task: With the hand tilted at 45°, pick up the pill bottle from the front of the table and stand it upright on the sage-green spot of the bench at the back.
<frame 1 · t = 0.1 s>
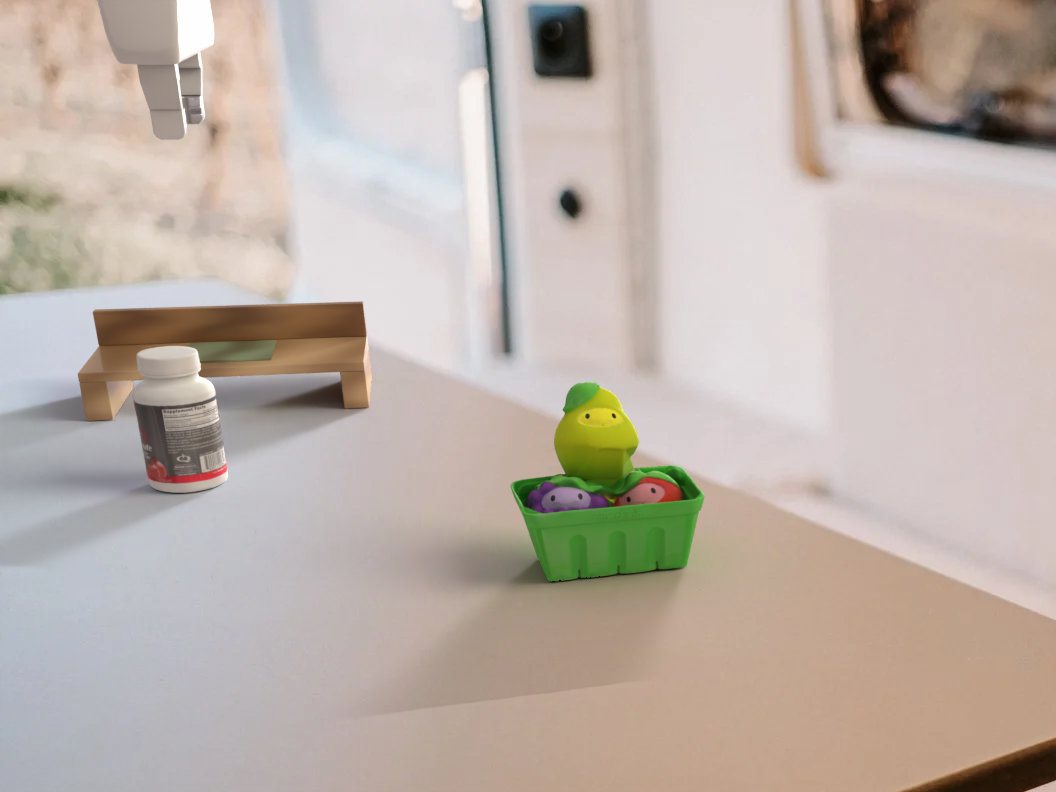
hand: (181, 130, 105), 25 cm above the table, tool pointing down, fingers open, 8 cm apart
bench: (237, 397, 140), on the table
fruit basket: (609, 562, 106), on the table
pill bottle: (189, 486, 118), on the table
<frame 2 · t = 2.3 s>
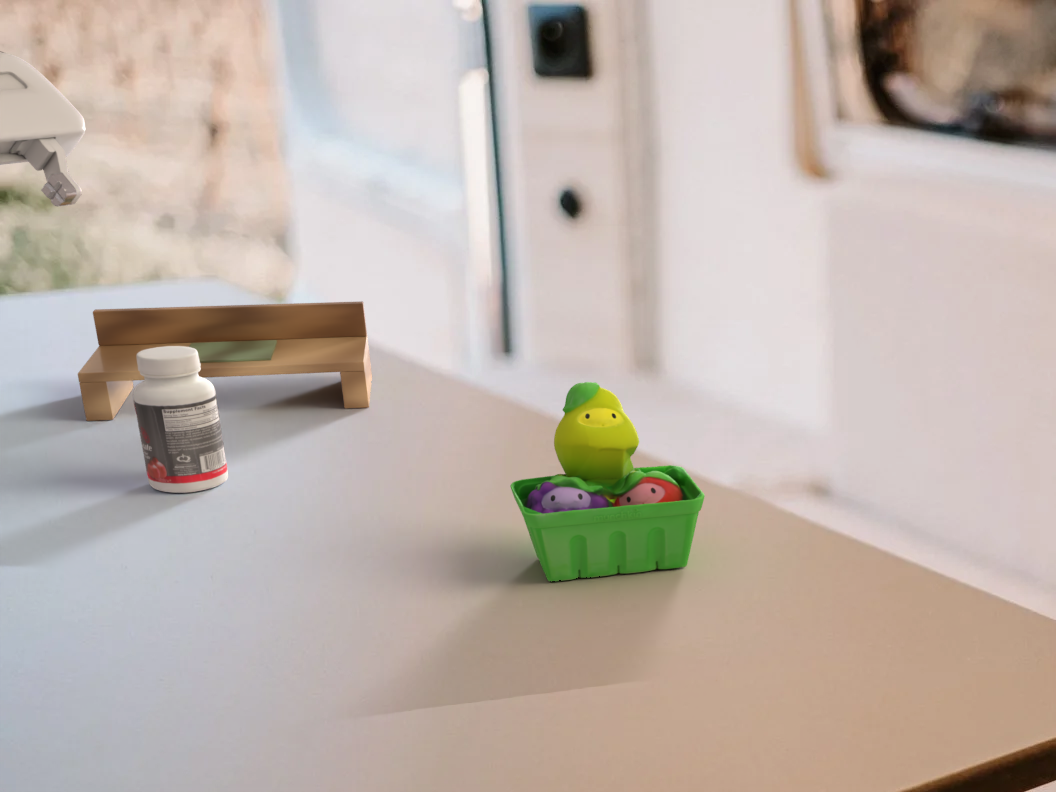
hand: (17, 207, 114), 19 cm above the table, tool tilted 45°, fingers open, 8 cm apart
nothing on the table moved.
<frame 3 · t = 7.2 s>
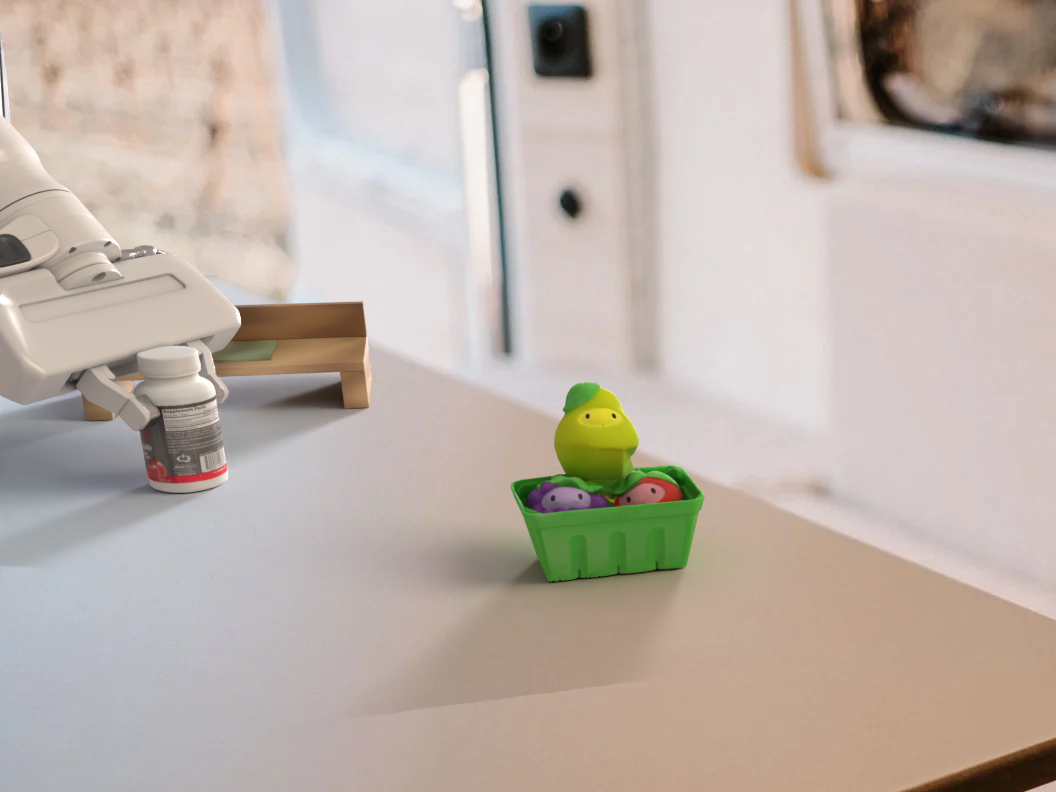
hand: (184, 412, 116), 5 cm above the table, tool tilted 45°, fingers closed on pill bottle, 5 cm apart
pill bottle: (190, 486, 118), on the table, touching gripper
everything else where it was.
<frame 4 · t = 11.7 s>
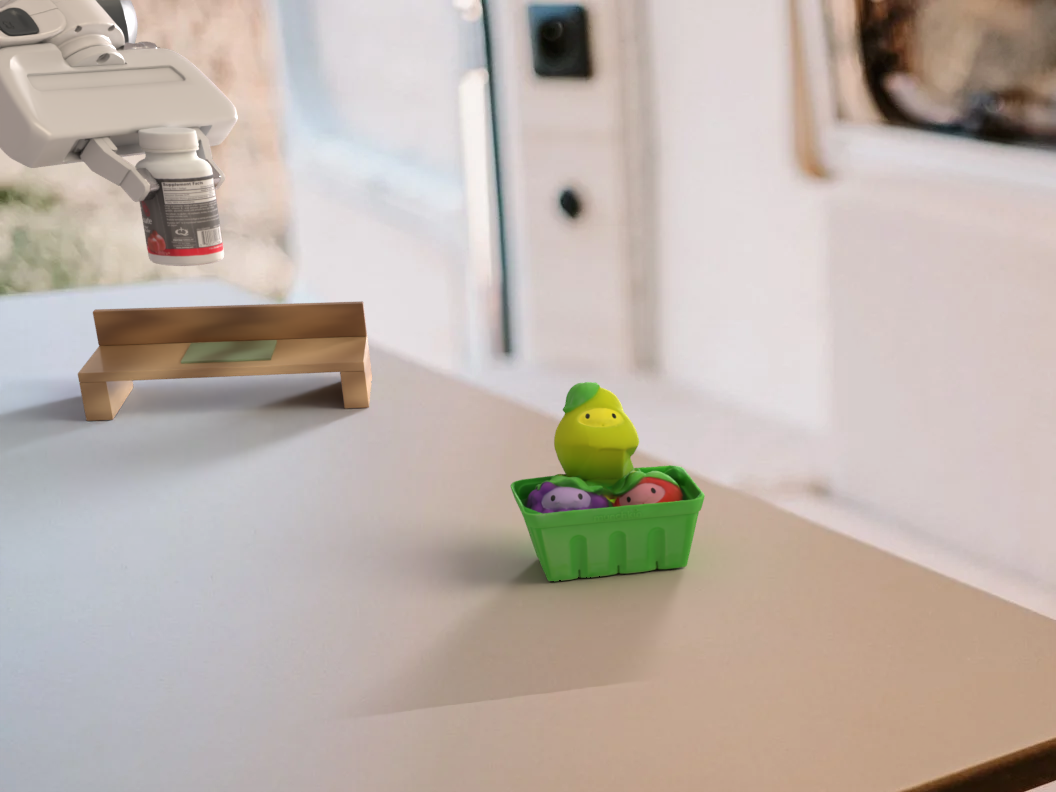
hand: (182, 190, 122), 19 cm above the table, tool tilted 45°, fingers closed on pill bottle, 5 cm apart
pill bottle: (187, 263, 125), point 14 cm above the table, touching gripper
everything else where it was.
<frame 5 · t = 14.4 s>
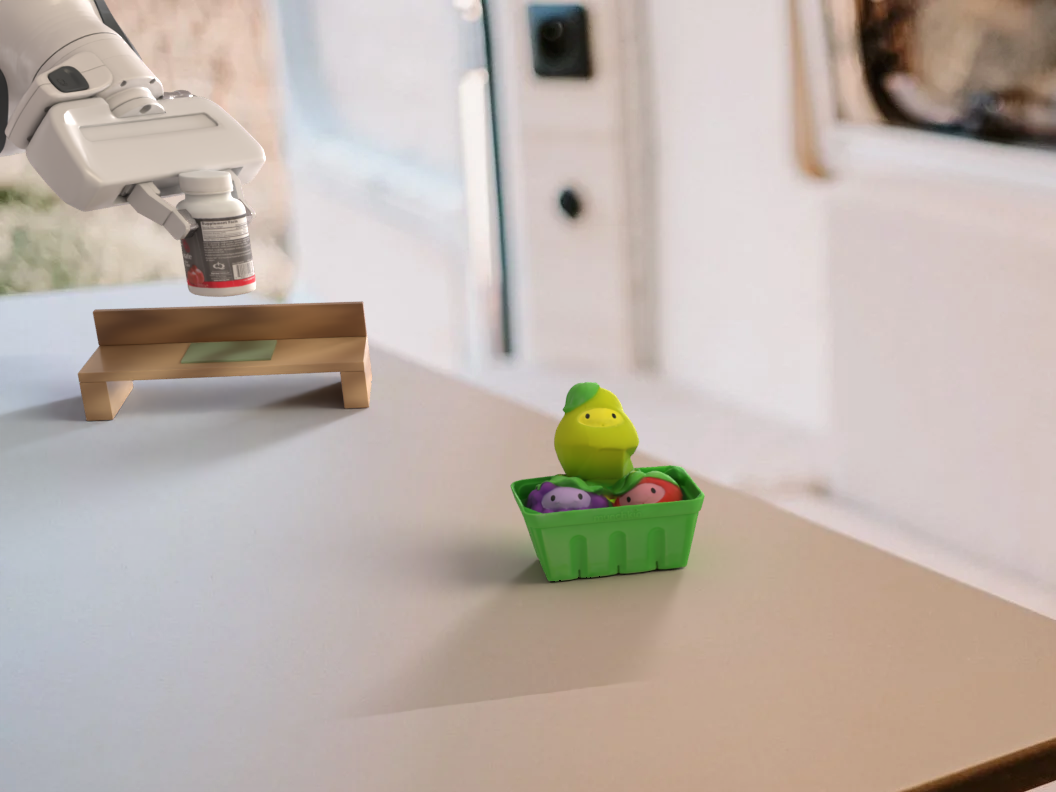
hand: (218, 228, 135), 15 cm above the table, tool tilted 45°, fingers closed on pill bottle, 5 cm apart
pill bottle: (223, 294, 137), point 9 cm above the table, touching gripper
everything else where it was.
when the fingers open (10 cm above the table, at t = 16.3 s): pill bottle stays where it is, resting on bench.
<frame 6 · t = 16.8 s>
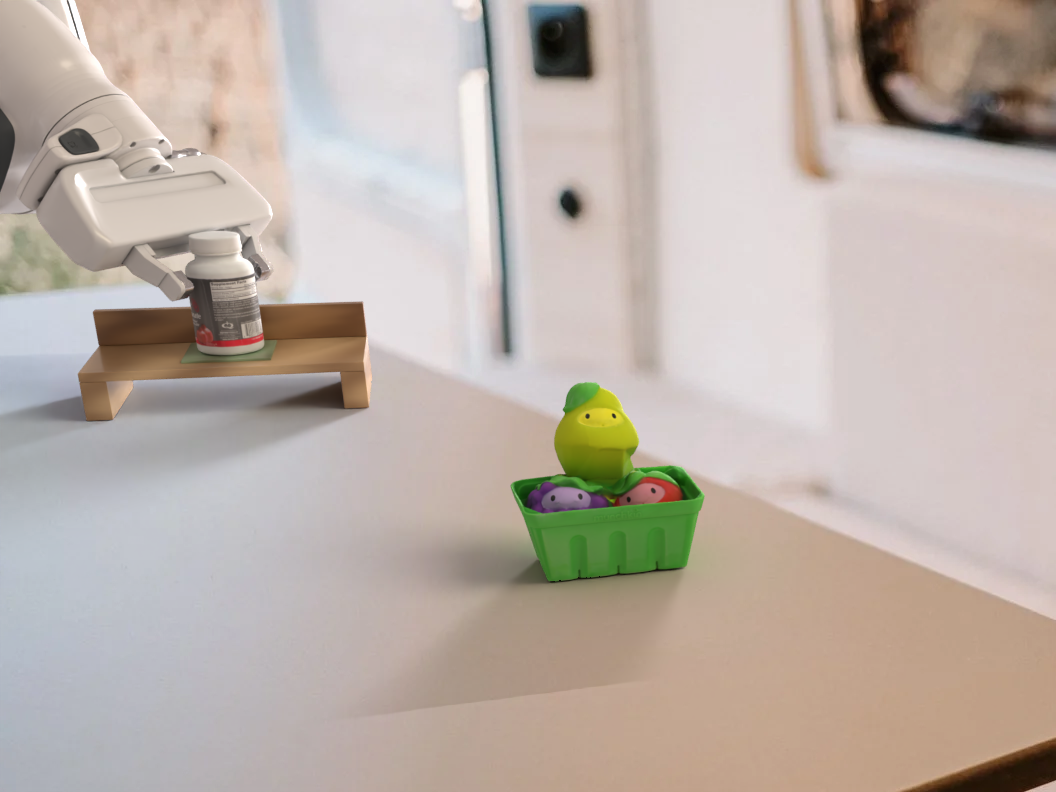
hand: (226, 285, 136), 10 cm above the table, tool tilted 45°, fingers open, 8 cm apart
pill bottle: (231, 351, 139), point 4 cm above the table, touching bench
everything else where it was.
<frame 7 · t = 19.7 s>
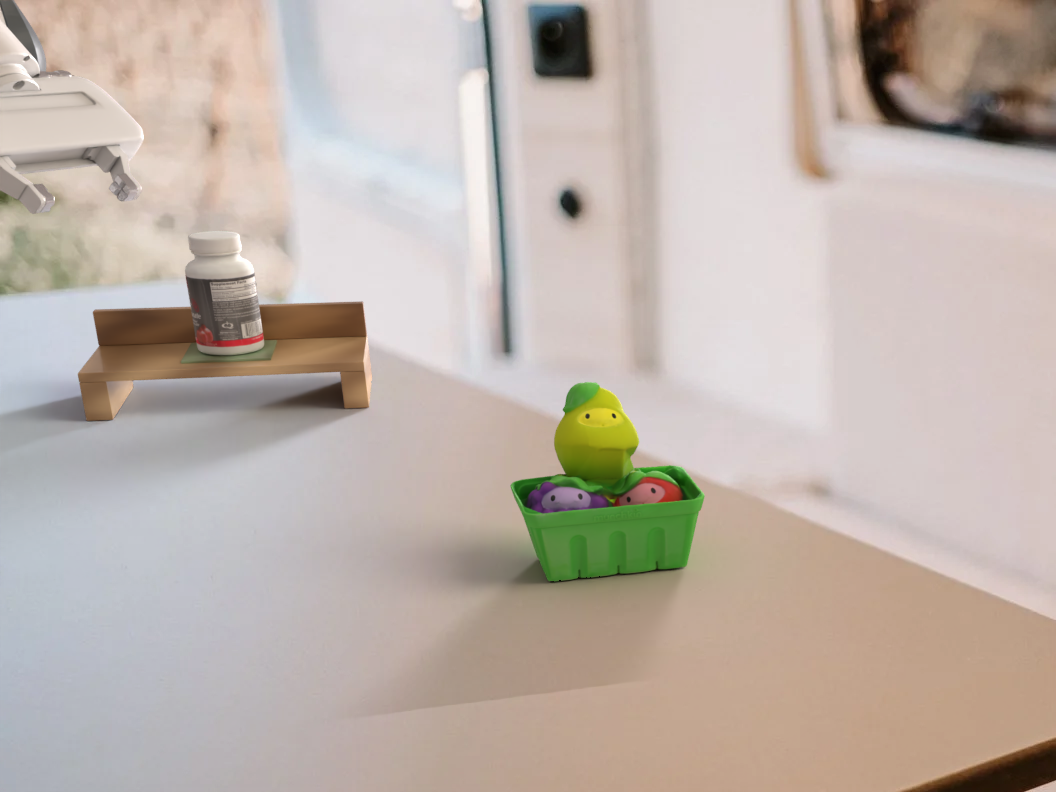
hand: (90, 202, 137), 16 cm above the table, tool tilted 45°, fingers open, 8 cm apart
nothing on the table moved.
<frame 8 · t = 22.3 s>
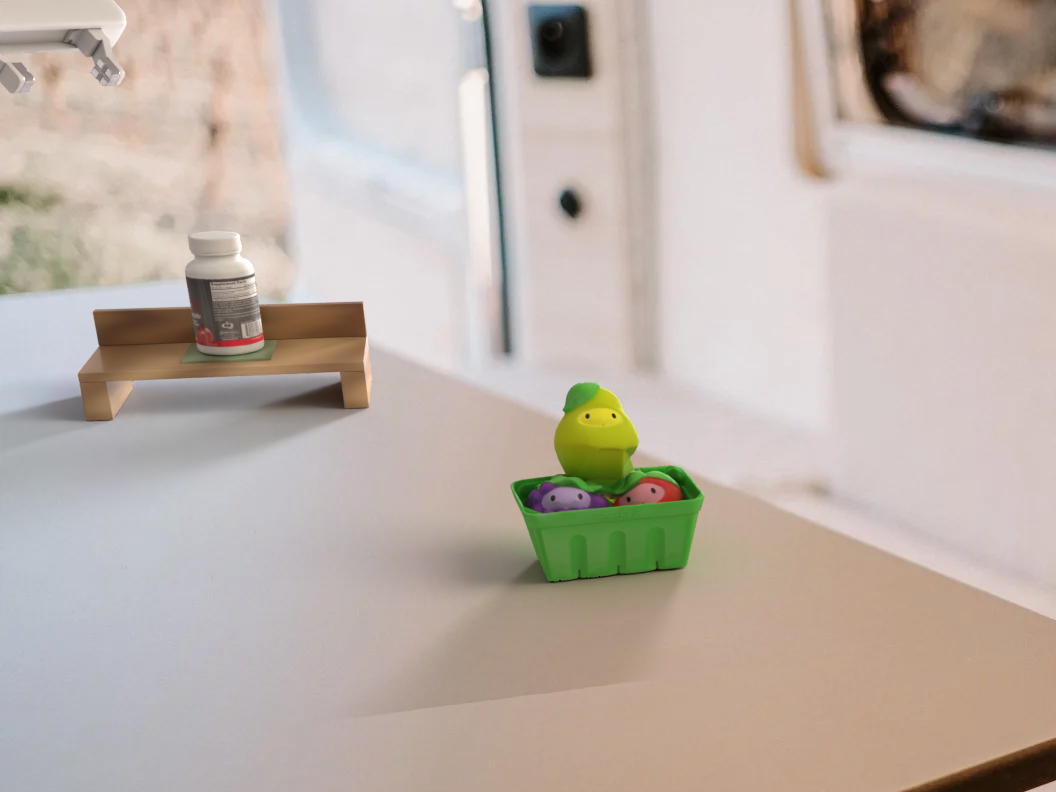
hand: (71, 84, 134), 25 cm above the table, tool tilted 45°, fingers open, 8 cm apart
nothing on the table moved.
at the end: pill bottle inside the target area on the bench (0.2 cm from its centre), point 4.0 cm above the bench's base; pill bottle tilted 0°; the gripper is holding nothing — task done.
